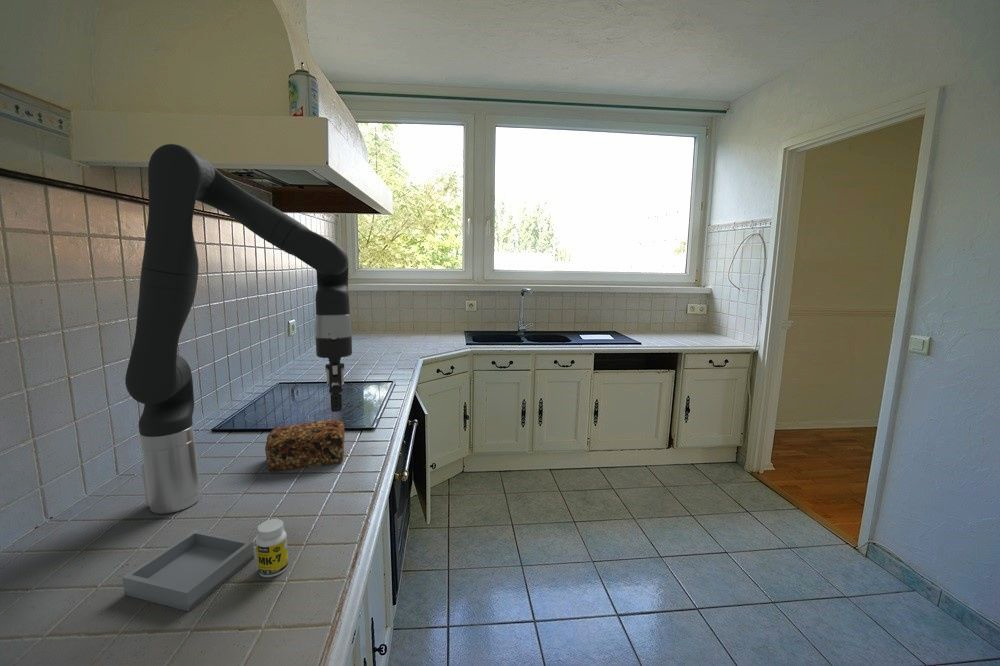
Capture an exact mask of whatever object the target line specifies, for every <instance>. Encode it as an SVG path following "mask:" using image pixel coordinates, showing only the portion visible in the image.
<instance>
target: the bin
mask: <svg viewBox="0 0 1000 666" xmlns="http://www.w3.org/2000/svg"><path fill="white" fill-rule="evenodd" d="M254 559H255V551H254V542H253V541H251V540H247V539H246V540H245V539H240V538H236V537H232V536H227V535H222V534H217V533H211V532H206V531H203V530H202V531H201V530H197V529H195V530H192V532H190V533H188V534H187V535H185V536H184V537H181V539H179V540H178V541H176V542H175V543H173V544H171V545H170V546H168V547H167V548H165V549H163V550H162V551H160V552H159V553H158V554H156V555H154V556H153V557H152V558H151V557H150V559H148V560H147V561H144V563H142V564H141V565H139V566H137V567H136V568H135V569H133V570H132V571H130V572H128V573H127V574H125V575H123V576H121V577H122V584H123V589H124V596H128V597H132V598H136V599H139V600H144V601H147V602H150V603H154V604H159V605H162V606H166V607H170V608H173V609H178V610H181V611H185V612H191V611H192V610H193V609H194V608H195V607H197V606H198V605H199V604H201V602H203V601H204V600H205V599H206V598H208V597H209V596H210V595H211V594H212V593H213V592H215V591H216V590H217V589H219V588H220V586H222V585H223V584H225V583H226V582H227V581H228V580H230V578H232V577H233V576H234V575H235V574H236V573H238V572H239V571H240V570H241V569H243V568H244V567H245V566H246V565H248V564H249V563H250V562H251V561H252V560H254Z"/></svg>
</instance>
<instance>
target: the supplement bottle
mask: <svg viewBox="0 0 1000 666" xmlns="http://www.w3.org/2000/svg"><path fill="white" fill-rule="evenodd" d="M284 528H285V527H284V521H283V520H281V519H280V518H272V519H268V520H265V521H263V522H262V523H260V524H258V526H257V528H256V529H257V537H256V540H255V547H256V549H255V550H256V559H257V560H256V561H257V571H258V574H259V575H260V576H261V577H262V578H273V577H276V576H279V575H281V574H283V573H284V572H285V571H286V570H287V568H289V555H288V554H289V553H288V536H287V532H286V530H285V529H284Z"/></svg>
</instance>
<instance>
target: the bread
mask: <svg viewBox="0 0 1000 666" xmlns="http://www.w3.org/2000/svg"><path fill="white" fill-rule="evenodd" d="M344 423H345V422H344V421H343V420H341V419H335V418H334V419H324V420H320V421H319V420H318V421H309V422H304V423H296V424H288V425H282V426H277V427H275V428H274V429H272V430H271V431H270V433H268V435H267V436H266V442H265V446H264V447H265V448H264V450H265V457H266V459H265V460H266V465H267V467H268V470H269V472H277V471H287V470H296V469H305V468H311V467H316V466H327V465H328V466H329V465H335V464H336V463H342V462H343V461H344V457H345V456H344V455H345V440H346V439H345V424H344Z"/></svg>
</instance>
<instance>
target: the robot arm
mask: <svg viewBox="0 0 1000 666" xmlns="http://www.w3.org/2000/svg"><path fill="white" fill-rule="evenodd" d="M147 168H148V169H147V187H148V217H147V225H146V232H145V238H144V249H143V256H142V257H143V258H142V262H141V263H142V264H141V269H140V280H139V290H138V291H139V294H138V302H137V310H136V311H137V312H136V313H137V314H136V326H135V335H134V340H133V343H132V349H131V353H130V356H129V360H128V364H127V369H126V373H125V378H124V382H125V388H126V390H127V392H128V394H129V396H131V398H132V399H133V400H135V401H136V402H137V403H141V404H143V405H144V406H143V410H142V413H141V415H140V417H139V420H138V431H139V439H140V446H141V453H142V454H141V455H142V461H143V464H142V465H141V466H140V467H141V475H142V480H143V491H144V495H145V505H146V507H148V508H149V511H151V513H153V514H162V515H164V514H172V513H175V512H176V513H177V512H179V511H182V510H185V509H187V508H191V506H193V505H194V504H197V503H198V502H199V501H200V500H201V496H202V493H201V492H202V491H201V484H200V483H201V482H200V475H199V473H200V472H199V465H198V457H197V449H196V448H197V446H196V441H195V440H196V438H195V432H194V431H195V430H194V423H193V414H194V410H195V396H194V395H195V394H194V382H193V380H194V378H193V373H192V370H191V367H190V365H189V363H188V361H187V360H186V359H185V358H184V357H183V356H181V355H179V354H178V347H179V341H180V337H181V334H182V330H183V328H184V326H185V323H186V321H187V319H188V316H189V314H190V312H191V309H192V308H193V304H194V300H195V297H196V292H197V288H198V287H197V286H198V279H199V278H198V277H199V276H198V275H199V268H200V267H199V257H198V250H197V246H196V241H195V236H194V230H193V220H194V219H193V218H194V213H195V212H194V211H195V206H196V202H197V201H198V202H200V203H203V204H205V205H208V206H209V207H212V208H214V209H216V210H218V211H221V212H222V213H224V214H226V215H228V216H229V217H230V218H232V219H234V220H236V221H237V222H238V223H239V224H241V225H242V226H244V227H245V228H246V229H248V230H249V231H250V232H251V233H253V234H254V235H256V236H258V237H259V238H261V239H262V240H264V241H265V242H267V243H269V244H270V245H272V246H274V247H276V248H278V249H279V250H281V251H283V252H284V253H286V254H289V255H290V256H293V257H295V258H297V259H299V261H301V262H303V263H305V264H306V265H308V266H309V267H311V268H313V270H315V271H316V284H317V285H316V286H317V287H316V288H317V289H316V292H315V324H314V327H315V328H314V329H315V331H314V333H315V353H316V357H318V358H321V359H328V363H326V364H325V374H326V385H327V386H328V387H329V389H328V394H329V395H330V410H331V412H332V413H335V412H336V413H337V412H342V410H343V407H342V406H343V405H342V403H343V401H342V394H343V387H342V386H343V385H344V384H345V382H344V381H345V378H344V377H345V376H344V374H345V363H342V362H341V359H342V358H347V357H351V356H352V355H353V340H352V339H353V338H352V334H353V333H352V321H351V312H350V308H351V307H350V295H349V287H348V286H349V258H348V254H347V252H346V251H345V249H344V247H341V245H339V244H337V243H335V242H334V241H332V240H330V239H328V238H327V237H325V236H323V235H321V234H319V233H318V232H315V231H313V230H311V229H309V228H308V227H307V226H306V225H304V224H303V223H301V222H299V221H298V220H297V219H295V218H293V217H291V216H290V215H288V214H286V213H285V212H283V211H281V210H280V209H278V208H276V207H274V206H272V205H270V204H269V203H267V202H265V201H263V200H262V199H259V198H258V197H255V196H254V195H252V194H250V193H249V192H248V191H245V190H244V189H243V188H242V187H239V186H238V185H237V184H235V183H234V182H232V181H231V180H230V179H229V178H227V177H226V176H225V175H224V174H222V173H221V172H220V170H218V169H217V168H216V167H214V166H213V165H212V164H211V163H209V161H208V160H207V159H206V158H205V157H203V156H202V155H200V154H199V153H197V152H195V151H193V150H191V149H189V148H188V147H185V146H182V145H179V144H176V143H175V144H174V143H168V144H164V145H161V146H159V147H157V149H155V150H154V151H153V153H152V154H151V156H150V158H149V161H148V167H147Z"/></svg>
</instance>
